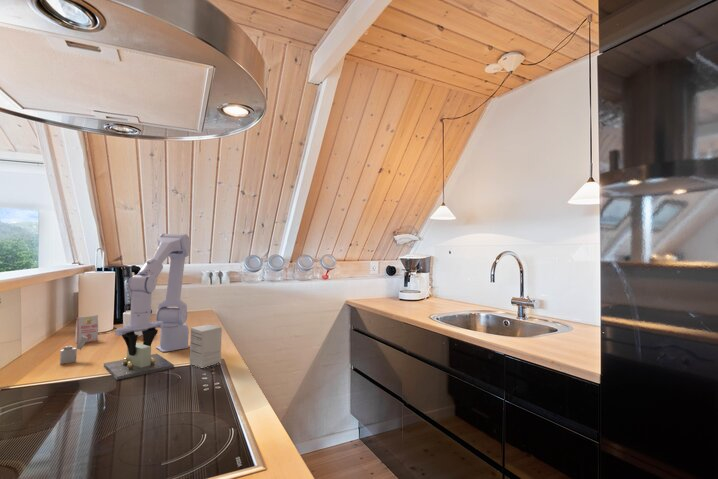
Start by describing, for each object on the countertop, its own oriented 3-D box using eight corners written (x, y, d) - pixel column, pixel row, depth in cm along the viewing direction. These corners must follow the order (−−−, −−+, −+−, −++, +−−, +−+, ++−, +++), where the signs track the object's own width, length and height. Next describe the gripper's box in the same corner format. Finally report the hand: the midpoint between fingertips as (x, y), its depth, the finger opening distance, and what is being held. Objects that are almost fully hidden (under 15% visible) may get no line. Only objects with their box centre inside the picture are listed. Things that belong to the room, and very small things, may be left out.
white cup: (127, 339, 152) (128, 315, 152) (118, 336, 156) (119, 312, 156) (147, 335, 158) (148, 312, 158) (138, 332, 163) (139, 310, 163)
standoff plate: (156, 356, 131) (157, 348, 131) (173, 367, 120) (174, 358, 120) (103, 366, 119) (103, 357, 119) (116, 380, 108) (117, 369, 108)
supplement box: (208, 359, 130) (210, 323, 130) (221, 364, 125) (222, 327, 125) (188, 364, 124) (190, 327, 124) (201, 369, 119) (202, 330, 119)
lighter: (60, 364, 120) (61, 339, 120) (59, 362, 121) (60, 338, 121) (87, 359, 125) (88, 336, 125) (86, 358, 126) (87, 335, 126)
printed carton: (75, 341, 146) (76, 316, 146) (95, 338, 151) (96, 314, 151) (76, 343, 143) (77, 318, 143) (97, 340, 148) (98, 316, 148)
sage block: (136, 360, 123) (136, 342, 123) (150, 365, 119) (151, 346, 119) (126, 362, 120) (127, 344, 120) (141, 367, 116) (142, 348, 117)
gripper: (154, 307, 128) (153, 346, 128) (110, 313, 115) (108, 356, 115) (167, 309, 125) (166, 349, 125) (123, 316, 112) (121, 360, 112)
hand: (139, 353), depth 120 cm, fingers open, 4 cm apart
